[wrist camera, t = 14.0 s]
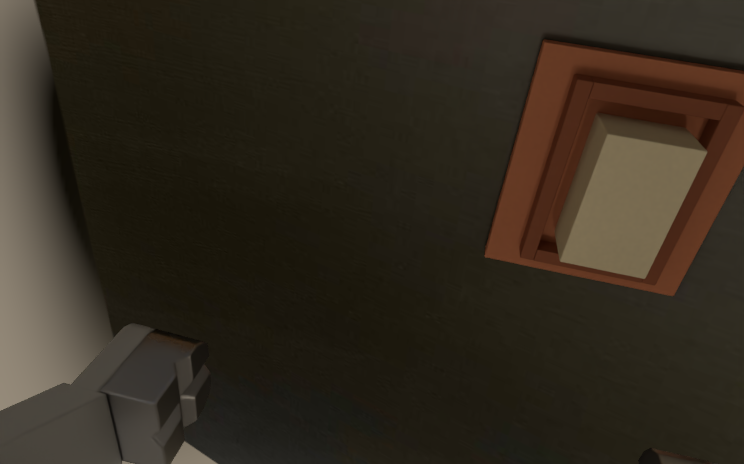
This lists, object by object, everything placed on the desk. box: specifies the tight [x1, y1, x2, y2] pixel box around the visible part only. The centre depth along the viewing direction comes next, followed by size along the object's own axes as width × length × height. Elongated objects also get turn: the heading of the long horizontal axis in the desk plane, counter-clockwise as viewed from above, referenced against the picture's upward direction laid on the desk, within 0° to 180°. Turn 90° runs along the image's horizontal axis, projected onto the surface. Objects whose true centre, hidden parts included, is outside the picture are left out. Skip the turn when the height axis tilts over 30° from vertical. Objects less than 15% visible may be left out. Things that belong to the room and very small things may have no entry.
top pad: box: [554, 113, 707, 279], centre depth 33 cm, size 9×6×4 cm, turn 172°
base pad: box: [485, 39, 744, 296], centre depth 35 cm, size 16×14×2 cm
